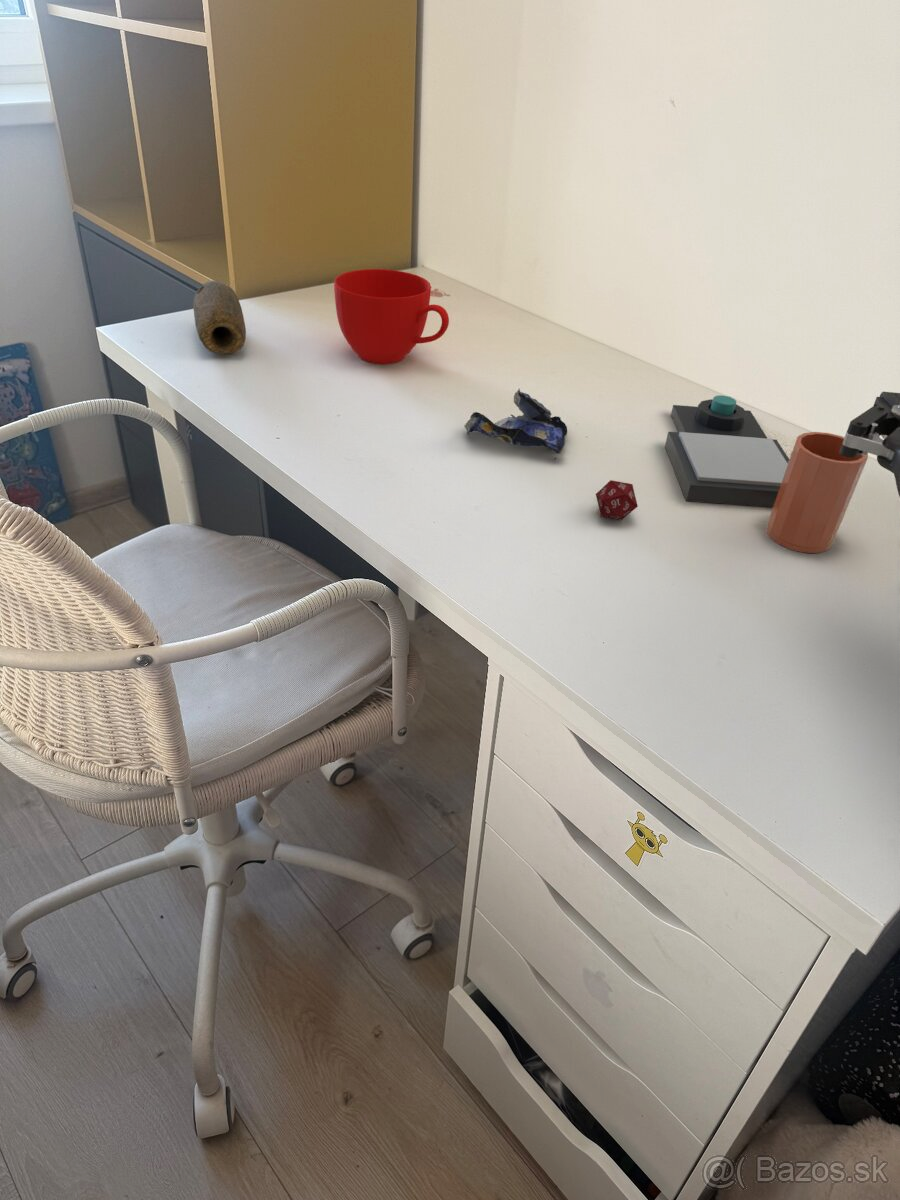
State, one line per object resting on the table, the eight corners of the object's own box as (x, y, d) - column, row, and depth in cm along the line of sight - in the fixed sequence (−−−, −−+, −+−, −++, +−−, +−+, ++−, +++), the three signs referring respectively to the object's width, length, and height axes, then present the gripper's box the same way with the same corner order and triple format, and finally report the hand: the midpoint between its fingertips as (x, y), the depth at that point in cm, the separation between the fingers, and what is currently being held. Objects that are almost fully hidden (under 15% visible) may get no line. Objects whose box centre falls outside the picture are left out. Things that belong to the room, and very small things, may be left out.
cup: (819, 521, 87) (853, 434, 81) (840, 555, 82) (878, 465, 76) (758, 516, 87) (788, 429, 81) (776, 550, 82) (808, 460, 76)
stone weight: (189, 324, 122) (183, 277, 118) (238, 321, 124) (234, 275, 120) (202, 362, 111) (196, 311, 107) (255, 358, 113) (251, 309, 109)
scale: (771, 454, 100) (778, 435, 98) (805, 509, 89) (813, 489, 88) (664, 446, 99) (669, 427, 98) (686, 501, 89) (691, 480, 88)
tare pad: (747, 420, 107) (753, 398, 105) (764, 448, 101) (771, 425, 99) (670, 414, 107) (676, 392, 105) (682, 442, 101) (688, 419, 99)
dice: (628, 531, 83) (636, 496, 81) (586, 518, 85) (593, 484, 82) (638, 515, 86) (646, 481, 84) (598, 503, 87) (604, 469, 85)
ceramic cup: (418, 389, 108) (421, 312, 102) (316, 357, 115) (313, 282, 109) (468, 361, 117) (474, 288, 111) (371, 332, 124) (371, 263, 118)
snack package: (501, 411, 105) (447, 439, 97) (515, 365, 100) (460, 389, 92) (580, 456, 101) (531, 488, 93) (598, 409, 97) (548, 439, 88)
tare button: (730, 407, 103) (733, 396, 103) (735, 417, 101) (739, 405, 100) (707, 406, 103) (711, 394, 103) (712, 415, 101) (716, 403, 100)
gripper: (1117, 455, 51) (986, 365, 66) (902, 435, 52) (819, 350, 66) (1059, 558, 55) (948, 453, 70) (860, 539, 56) (791, 438, 70)
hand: (885, 403), depth 68 cm, fingers closed
